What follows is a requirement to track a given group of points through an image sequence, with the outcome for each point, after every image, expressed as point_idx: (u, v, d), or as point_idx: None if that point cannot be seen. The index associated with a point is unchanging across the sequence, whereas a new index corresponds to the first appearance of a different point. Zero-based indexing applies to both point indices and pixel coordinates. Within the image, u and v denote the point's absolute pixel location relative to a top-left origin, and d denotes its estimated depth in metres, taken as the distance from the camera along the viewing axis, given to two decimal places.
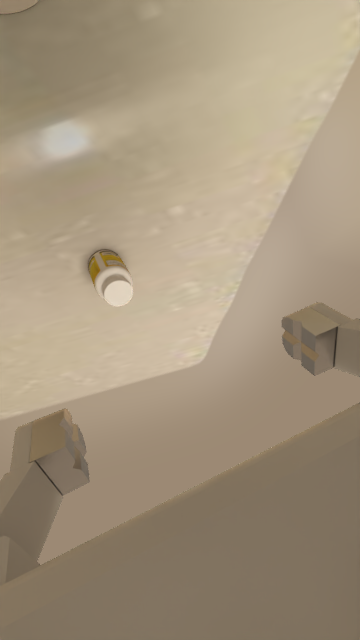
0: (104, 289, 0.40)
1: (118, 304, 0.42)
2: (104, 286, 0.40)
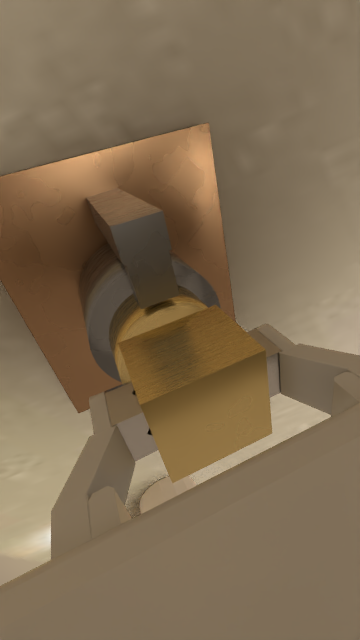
0: None
1: None
2: None
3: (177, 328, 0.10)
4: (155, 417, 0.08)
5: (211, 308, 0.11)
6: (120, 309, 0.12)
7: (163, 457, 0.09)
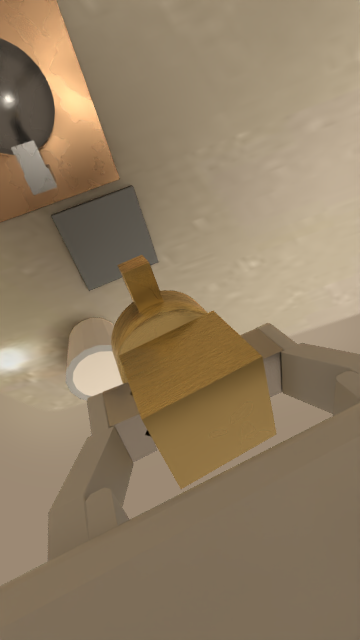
0: None
1: None
2: None
3: (175, 337, 0.10)
4: (158, 429, 0.08)
5: (208, 314, 0.11)
6: (120, 320, 0.12)
7: (169, 465, 0.09)
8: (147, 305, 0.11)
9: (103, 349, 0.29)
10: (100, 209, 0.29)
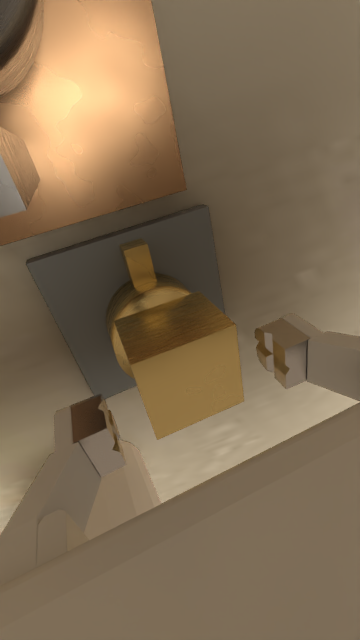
0: None
1: None
2: None
3: (164, 309, 0.12)
4: (142, 377, 0.10)
5: (195, 293, 0.12)
6: (116, 294, 0.14)
7: (149, 414, 0.10)
8: (142, 282, 0.13)
9: None
10: None
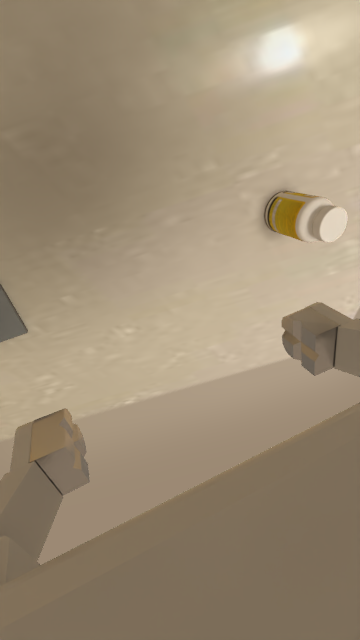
0: (321, 218, 0.34)
1: (329, 239, 0.36)
2: (319, 215, 0.34)
3: None
4: None
5: None
6: None
7: None
8: None
9: None
10: None
